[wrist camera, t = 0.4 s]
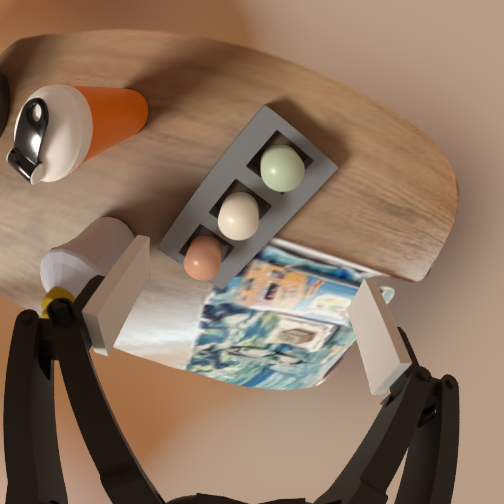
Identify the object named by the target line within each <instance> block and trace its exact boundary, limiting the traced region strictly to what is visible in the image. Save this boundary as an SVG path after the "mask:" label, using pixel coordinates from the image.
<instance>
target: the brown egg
mask: <svg viewBox="0 0 504 504" xmlns="http://www.w3.org/2000/svg"><path fill="white" fill-rule="evenodd" d="M222 253H223V248H222V245H221V244H220V242H219V241H218V240H217V239H216V238H214V237H212V236H208V235H201V236H198V237H196V238H195V239H193V240H192V242H191V244H190V246H189V249H188V251H187V254H186V256H185V259H184V268H185V270H186V272H187V273H188V274H189V275H190V276H191V277H193V278H195V279H197V280H210V279H212V278H214V277H215V276H216V275H217V274H218V272H219V268H220V263H221V258H222Z"/></svg>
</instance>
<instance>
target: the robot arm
mask: <svg viewBox="0 0 504 504" xmlns="http://www.w3.org/2000/svg"><path fill="white" fill-rule="evenodd" d="M8 111H9V88H8V84H7V81H6V79H5V77H4V76H3V75H2V74H1V73H0V136H1V134H2V132H3V130H4V127H5V125H6V121H7V117H8ZM149 276H150V237H147V236H142V235H137V236H136V238H135V239H134V240H133V241H132V243H131V244H130V245H129V246H128V248H127V249H126V250H125V252H124V253H123V254H122V255H121V257H120V258H119V259H118V261H117V262H116V263H115V265H114V266H113V267H112V269H111V270H110V271H109V273H108V274H107V276H106V277H105V276H101V275H96V276H95V277H93V278H92V279H90V280H89V281H88V283H87V284H86V285H85V288H83V289H82V291H81V293H79V295H78V296H77V298H76V299H75V300H74V302H73V303H72V301H71V300H70V299H68V298H64V297H62V298H56V299H54V300H52V301H51V302H50V303H49V305H48V306H47V314H48V316H49V318H39V316H38V314H37V312H36V311H34V310H31V309H28V310H24V311H22V312H21V313H20V314H19V315H18V316H17V318H16V321H15V325H14V330H13V335H12V340H11V345H10V351H9V358H8V365H7V372H6V382H5V393H4V415H3V418H4V419H3V421H4V422H3V426H4V427H3V430H4V451H5V462H6V471H7V479H8V486H7V493H6V502H5V504H68V499H67V493H66V487H65V483H64V478H63V473H62V468H61V462H60V456H59V450H58V442H57V433H56V421H55V405H54V360H59V364H60V368H61V372H62V376H63V379H64V383H65V387H66V390H67V394H68V397H69V400H70V403H71V406H72V409H73V412H74V415H75V418H76V421H77V423H78V426H79V428H80V431H81V433H82V436H83V438H84V441H85V443H86V446H87V448H88V450H89V453H90V455H91V457H92V459H93V461H94V463H95V465H96V468H97V470H98V471H99V474H100V480H101V483H102V485H103V487H104V489H105V491H106V493H107V495H108V496H109V498H110V500H111V502H112V503H113V504H248V503H244V502H241V501H237V500H233V499H230V498H227V497H224V496H215V495H208V494H201V493H197V494H196V495H191V496H183V497H180V498H176V499H173V500H171V501H169V502H167V503H165V501H164V500H163V498H162V497H161V496H160V494H159V493H158V491H157V490H156V488H155V487H154V485H153V484H152V483H151V481H150V480H149V478H148V477H147V475H146V474H145V472H144V471H143V469H142V467H141V466H140V464H139V462H138V460H137V459H136V457H135V455H134V454H133V452H132V450H131V448H130V446H129V444H128V442H127V441H126V439H125V437H124V435H123V433H122V431H121V429H120V427H119V425H118V423H117V421H116V418H115V416H114V414H113V412H112V410H111V408H110V405H109V403H108V401H107V398H106V396H105V394H104V391H103V389H102V386H101V383H100V381H99V378H98V376H97V373H96V370H95V368H94V365H93V362H92V359H91V356H90V353H89V350H90V348H91V346H93V349H94V351H95V352H97V353H100V354H102V355H105V356H109V354H110V352H111V349H112V347H113V345H114V343H115V341H116V339H117V337H118V335H119V333H120V331H121V329H122V327H123V325H124V323H125V321H126V319H127V317H128V315H129V313H130V311H131V309H132V307H133V305H134V303H135V301H136V299H137V298H138V296H139V294H140V292H141V290H142V288H143V286H144V285H145V283H146V281H147V279H148V277H149ZM348 314H349V317H350V320H351V323H352V326H353V330H354V333H355V336H356V339H357V343H358V346H359V349H360V353H361V356H362V360H363V363H364V367H365V371H366V374H367V378H368V382H369V386H370V390H371V394H384V393H385V392H386V391H387V390H388V389H389V388H390V391H391V393H390V394H389V395H388V396H387V397H386V398H385V399H384V400H383V401H382V402H381V403H380V404H381V405H382V404H383V403H384V404H383V406H382V408H381V410H380V412H379V414H378V416H377V417H376V419H375V421H374V423H373V425H372V426H371V428H370V430H369V431H368V433H367V435H366V436H365V438H364V439H363V441H362V443H361V444H360V446H359V447H358V449H357V451H356V452H355V454H354V455H353V457H352V458H351V460H350V461H349V462H348V464H347V465H346V467H345V468H344V470H343V471H342V472H341V474H340V475H339V476H338V478H337V479H336V480H335V482H334V483H333V484H332V486H331V487H330V488H329V490H327V491H326V492H325V493H324V494H323V495H321V496H320V497H319V498H318V499H317V500H316V501H315V502H314V503H313V504H386V502H387V500H388V496H387V495H386V490H387V488H388V486H389V485H390V483H391V481H392V479H393V477H394V475H395V473H396V471H397V469H398V468H399V466H400V464H401V461H402V459H403V457H404V455H405V453H406V451H407V448H408V446H409V448H408V453H407V458H406V462H405V467H404V471H403V475H402V479H401V482H400V486H399V490H398V493H397V497H396V500H395V503H394V504H451V499H452V494H453V488H454V482H455V475H456V467H457V458H458V445H459V386H458V382H457V381H456V379H455V378H454V377H453V376H451V375H448V374H446V375H444V376H443V377H442V378H441V379H436V378H433V377H432V376H431V374H430V372H429V371H428V370H427V369H426V368H424V367H422V366H419V364H418V361H417V359H416V356H415V354H414V351H413V349H412V347H411V345H410V342H409V340H408V338H407V336H406V334H405V332H404V331H403V330H402V329H401V328H400V327H397V326H396V324H395V322H394V320H393V318H392V315H391V313H390V311H389V309H388V307H387V305H386V303H385V301H384V299H383V296H382V294H381V292H380V290H379V288H378V286H377V284H376V282H375V281H374V280H371V279H365V278H364V280H363V282H362V284H361V286H360V288H359V290H358V292H357V294H356V296H355V298H354V300H353V301H352V303H351V305H350V307H349V309H348ZM435 410H436V413H435ZM259 504H312V503H309V502H305V498H298V499H278V500H274V501H270V502H265V503H259Z"/></svg>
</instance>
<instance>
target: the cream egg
mask: <svg viewBox="0 0 504 504" xmlns="http://www.w3.org/2000/svg"><path fill="white" fill-rule="evenodd" d="M258 224H259V213H258V204H257V202H256V200H255V199H254V198H253V197H252V196H251V195H250V194H248V193H245V192H235V193H232V194H230V195H228V196H227V197H226V198H225V200H224V201H223V204H222V207H221V210H220V213H219V217H218V226H219V229H220V230H221V232H222V233H223V234H224V235H225V236H226V237H228V238H230V239H233V240H244V239H247V238H249V237H251V236H252V235H253V234H254V233H255V232H256V230H257V228H258Z"/></svg>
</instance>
